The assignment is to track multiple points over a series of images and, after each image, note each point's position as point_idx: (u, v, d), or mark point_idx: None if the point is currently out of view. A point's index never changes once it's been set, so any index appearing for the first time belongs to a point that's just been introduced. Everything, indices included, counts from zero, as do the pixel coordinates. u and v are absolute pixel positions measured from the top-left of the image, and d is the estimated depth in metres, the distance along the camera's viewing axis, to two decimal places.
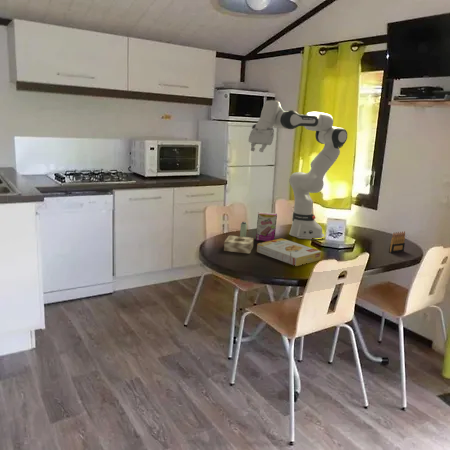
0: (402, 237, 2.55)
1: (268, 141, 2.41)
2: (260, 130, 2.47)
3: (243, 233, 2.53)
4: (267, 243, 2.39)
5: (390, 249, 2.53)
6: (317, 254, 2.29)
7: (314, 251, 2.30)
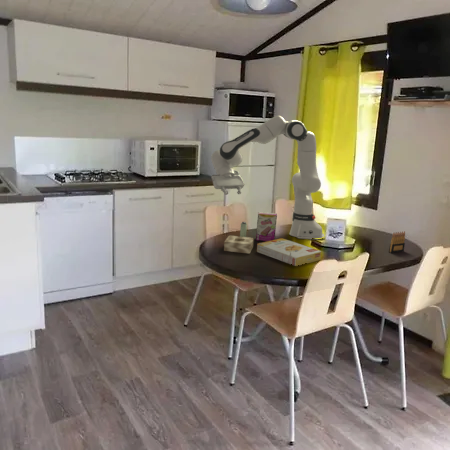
0: (402, 237, 2.55)
1: (214, 186, 2.57)
2: None
3: (243, 233, 2.53)
4: (267, 243, 2.39)
5: (390, 249, 2.53)
6: (317, 254, 2.29)
7: (314, 251, 2.29)
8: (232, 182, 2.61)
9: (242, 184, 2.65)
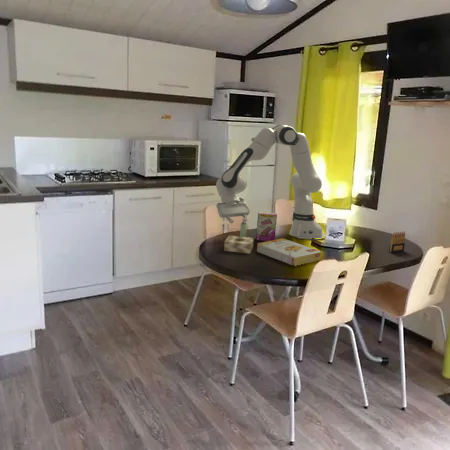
0: (402, 237, 2.55)
1: (220, 215, 2.55)
2: None
3: (243, 233, 2.53)
4: (267, 243, 2.39)
5: (390, 249, 2.53)
6: (317, 254, 2.28)
7: (314, 251, 2.29)
8: (237, 210, 2.59)
9: (247, 211, 2.63)
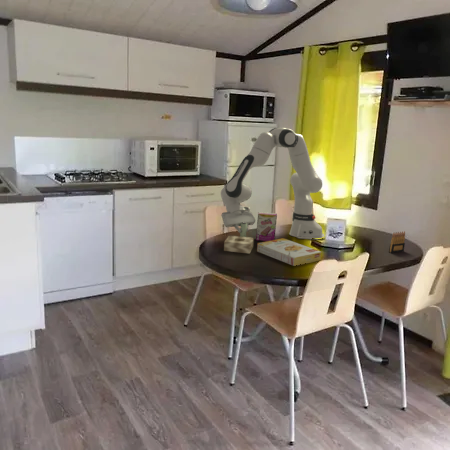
0: (402, 237, 2.55)
1: (225, 224, 2.51)
2: None
3: (243, 233, 2.53)
4: (267, 243, 2.39)
5: (390, 249, 2.53)
6: (316, 254, 2.28)
7: (314, 251, 2.29)
8: (242, 219, 2.56)
9: (253, 221, 2.59)
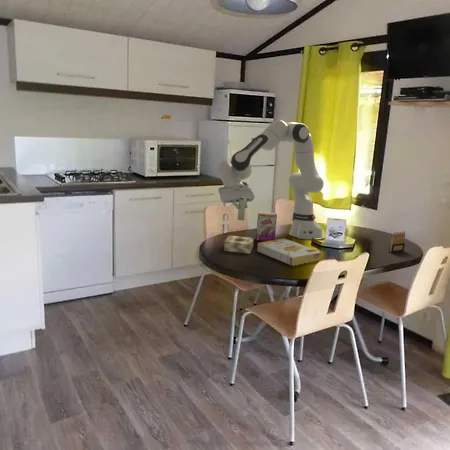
0: (402, 237, 2.55)
1: (222, 200, 2.35)
2: None
3: (241, 210, 2.37)
4: (268, 242, 2.40)
5: (390, 249, 2.53)
6: (316, 255, 2.28)
7: (313, 251, 2.29)
8: (241, 195, 2.40)
9: (252, 197, 2.43)
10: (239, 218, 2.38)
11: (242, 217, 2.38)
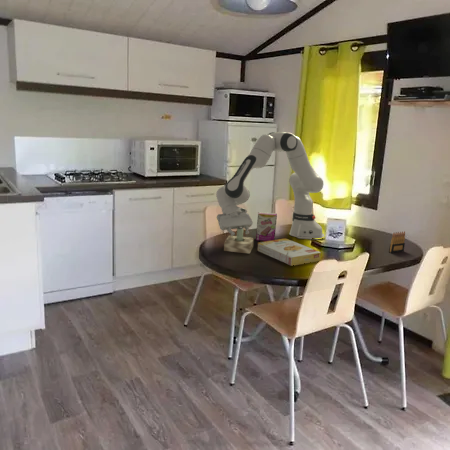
0: (402, 237, 2.55)
1: (220, 227, 2.38)
2: None
3: (239, 239, 2.40)
4: (268, 242, 2.40)
5: (390, 249, 2.53)
6: (316, 255, 2.27)
7: (313, 252, 2.28)
8: (239, 221, 2.43)
9: (250, 223, 2.46)
10: None
11: None
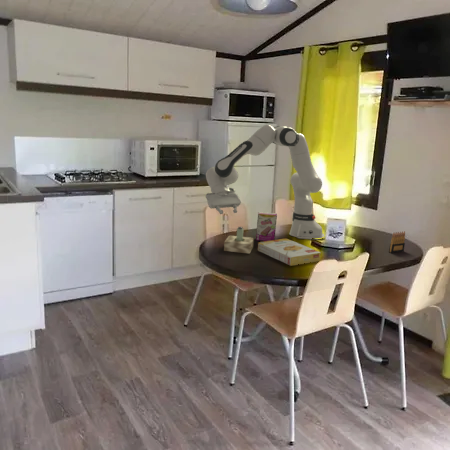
0: (402, 237, 2.55)
1: (209, 205, 2.46)
2: None
3: (239, 239, 2.40)
4: (268, 242, 2.41)
5: (390, 249, 2.53)
6: (315, 255, 2.27)
7: (313, 252, 2.28)
8: (227, 200, 2.51)
9: (238, 202, 2.54)
10: None
11: None
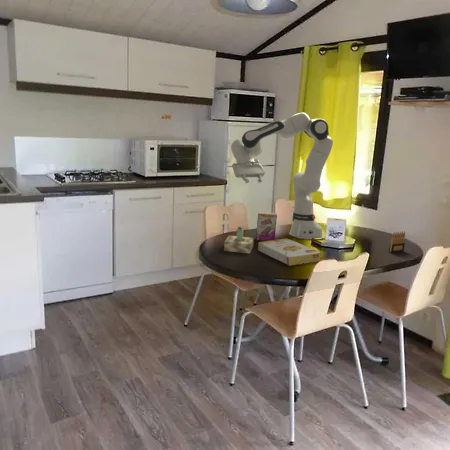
0: (402, 237, 2.55)
1: (235, 175, 2.58)
2: None
3: (239, 239, 2.40)
4: (268, 242, 2.41)
5: (390, 249, 2.53)
6: (315, 255, 2.27)
7: (312, 252, 2.28)
8: (252, 170, 2.63)
9: (262, 172, 2.66)
10: None
11: None
